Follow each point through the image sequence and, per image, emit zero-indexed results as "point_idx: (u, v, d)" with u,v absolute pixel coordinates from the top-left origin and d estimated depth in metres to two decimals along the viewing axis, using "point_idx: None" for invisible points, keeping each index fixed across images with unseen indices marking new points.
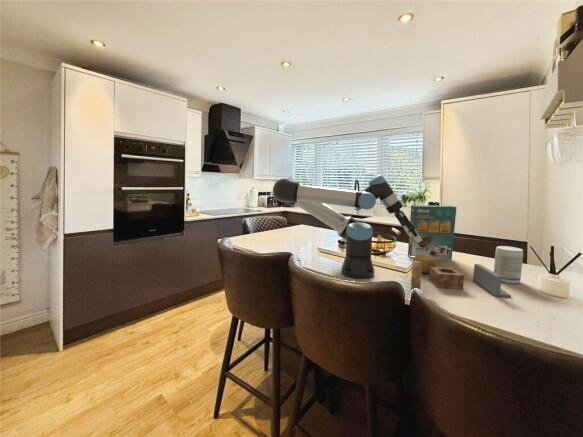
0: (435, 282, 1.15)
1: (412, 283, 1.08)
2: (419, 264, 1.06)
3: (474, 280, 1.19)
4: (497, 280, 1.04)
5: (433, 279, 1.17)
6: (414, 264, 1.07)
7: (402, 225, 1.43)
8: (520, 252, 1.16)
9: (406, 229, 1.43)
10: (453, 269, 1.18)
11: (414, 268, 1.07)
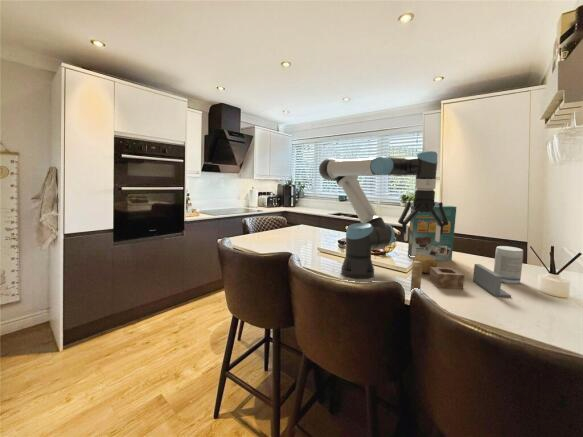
0: (435, 282, 1.15)
1: (412, 283, 1.08)
2: (419, 264, 1.06)
3: (474, 280, 1.19)
4: (497, 280, 1.04)
5: (433, 279, 1.17)
6: (414, 264, 1.07)
7: (438, 224, 1.15)
8: (520, 252, 1.16)
9: (436, 230, 1.15)
10: (453, 269, 1.18)
11: (414, 268, 1.07)
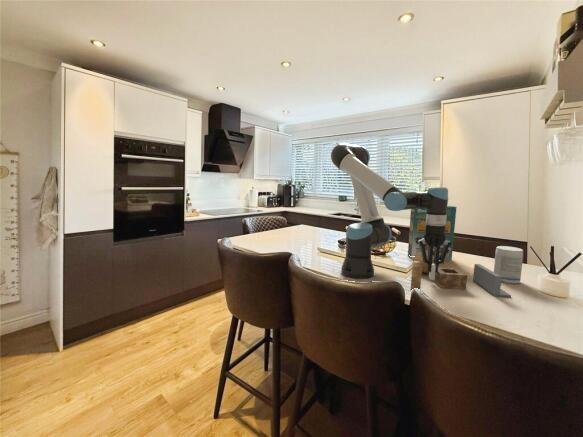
0: (438, 282, 1.14)
1: (412, 283, 1.08)
2: (419, 264, 1.06)
3: (474, 280, 1.19)
4: (497, 280, 1.04)
5: (436, 279, 1.17)
6: (414, 264, 1.07)
7: None
8: (520, 252, 1.16)
9: None
10: (456, 269, 1.18)
11: (414, 268, 1.07)
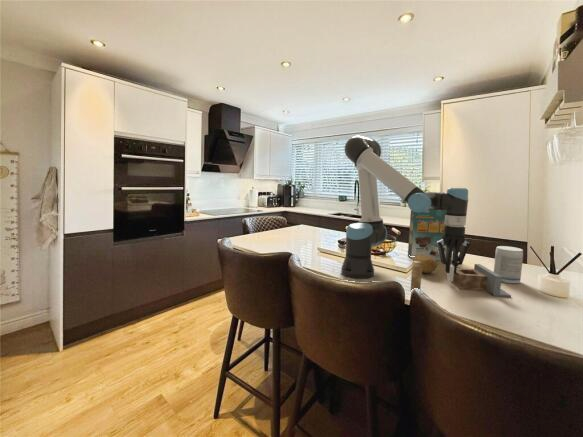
0: (457, 283, 1.13)
1: (412, 283, 1.08)
2: (419, 264, 1.06)
3: None
4: (497, 280, 1.04)
5: (454, 280, 1.16)
6: (414, 264, 1.07)
7: (452, 262, 1.16)
8: (520, 252, 1.16)
9: None
10: (474, 270, 1.16)
11: (414, 268, 1.07)
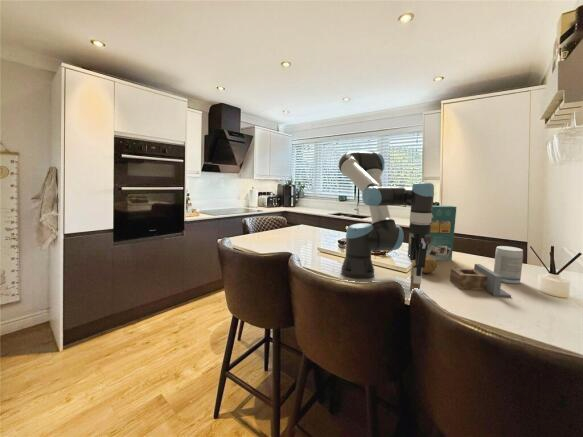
0: (457, 283, 1.13)
1: (412, 282, 1.08)
2: None
3: None
4: (497, 280, 1.04)
5: (454, 280, 1.16)
6: (414, 263, 1.07)
7: None
8: (520, 252, 1.16)
9: None
10: (474, 270, 1.16)
11: None
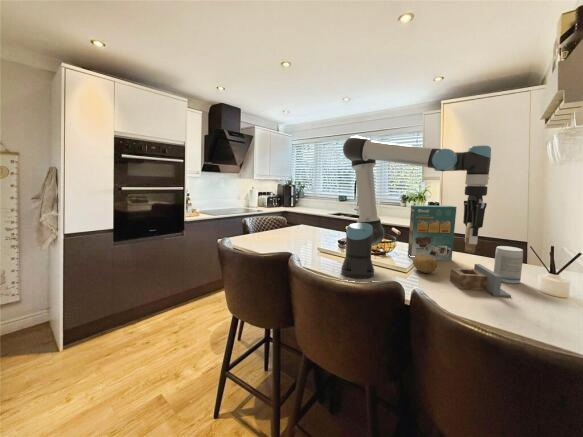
0: (457, 283, 1.13)
1: (467, 244, 1.12)
2: None
3: None
4: (497, 280, 1.04)
5: (454, 280, 1.16)
6: (470, 225, 1.11)
7: None
8: (520, 252, 1.16)
9: None
10: (474, 270, 1.16)
11: None
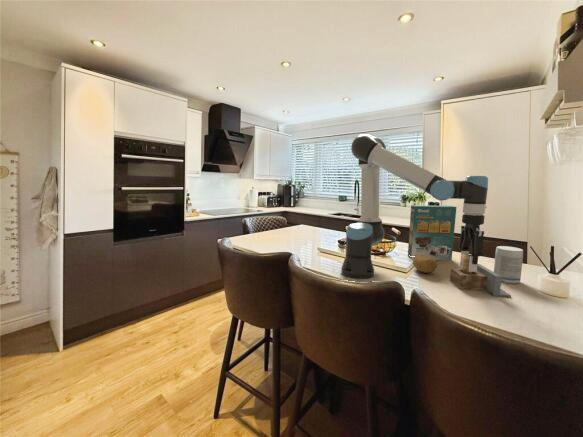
0: (457, 283, 1.13)
1: None
2: None
3: None
4: (497, 280, 1.04)
5: (454, 280, 1.16)
6: (465, 257, 1.14)
7: (462, 248, 1.17)
8: (520, 252, 1.16)
9: None
10: None
11: (465, 260, 1.14)
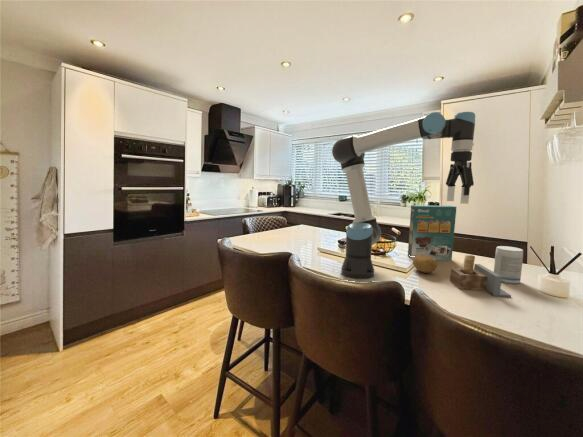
0: (457, 283, 1.13)
1: None
2: (472, 257, 1.12)
3: None
4: (497, 280, 1.04)
5: (454, 280, 1.16)
6: (467, 257, 1.13)
7: (448, 185, 1.23)
8: (520, 252, 1.16)
9: (450, 191, 1.23)
10: (474, 270, 1.16)
11: (467, 261, 1.13)
